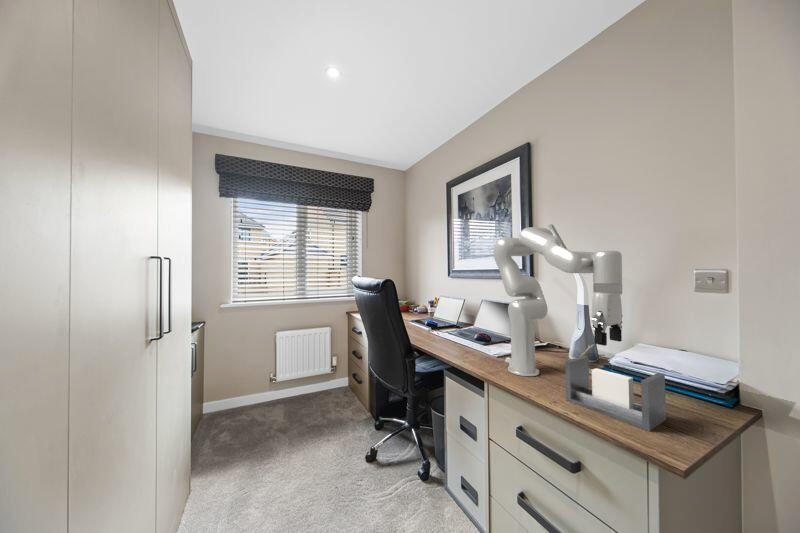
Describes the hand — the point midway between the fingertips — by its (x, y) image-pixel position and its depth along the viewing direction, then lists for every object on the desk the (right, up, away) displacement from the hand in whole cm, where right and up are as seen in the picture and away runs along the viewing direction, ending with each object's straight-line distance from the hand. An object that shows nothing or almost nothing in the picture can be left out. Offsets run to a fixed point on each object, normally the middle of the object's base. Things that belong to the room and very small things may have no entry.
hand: (608, 342), depth 89 cm
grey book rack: (0, -21, -2) cm, 21 cm away
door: (0, -20, -1) cm, 20 cm away
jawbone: (+14, -22, +30) cm, 40 cm away
